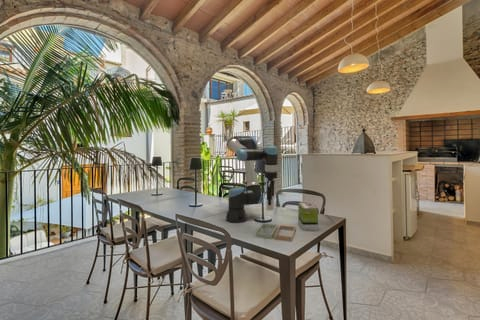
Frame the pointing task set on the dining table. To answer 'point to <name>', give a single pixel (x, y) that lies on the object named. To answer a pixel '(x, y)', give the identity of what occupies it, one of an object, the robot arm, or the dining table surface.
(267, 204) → the letter block
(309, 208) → the tea box
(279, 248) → the dining table surface
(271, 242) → the dining table surface
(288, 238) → the tray
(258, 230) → the tray
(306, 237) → the dining table surface
